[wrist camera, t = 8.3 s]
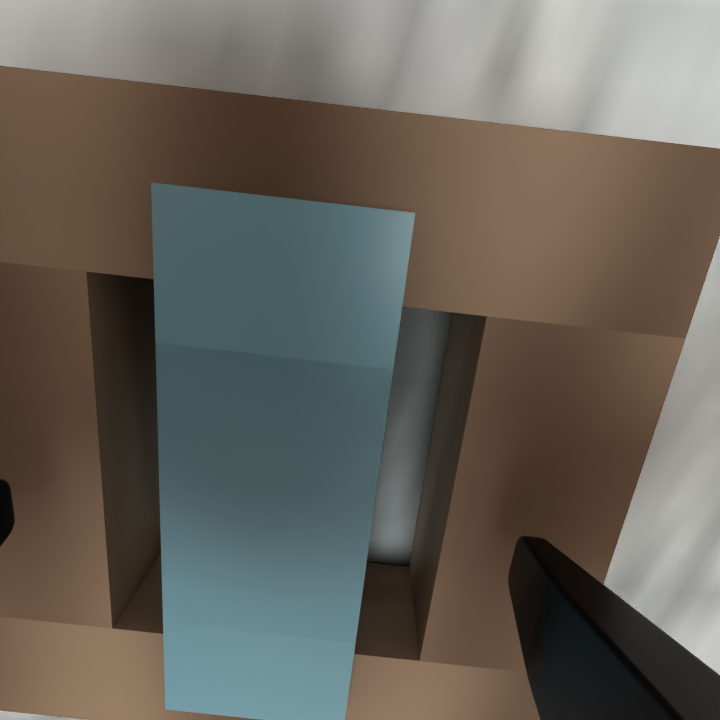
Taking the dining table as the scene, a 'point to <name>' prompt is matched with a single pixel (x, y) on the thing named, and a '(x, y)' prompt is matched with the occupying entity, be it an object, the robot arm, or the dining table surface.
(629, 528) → the dining table surface
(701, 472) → the dining table surface
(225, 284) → the block
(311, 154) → the brown square frame
